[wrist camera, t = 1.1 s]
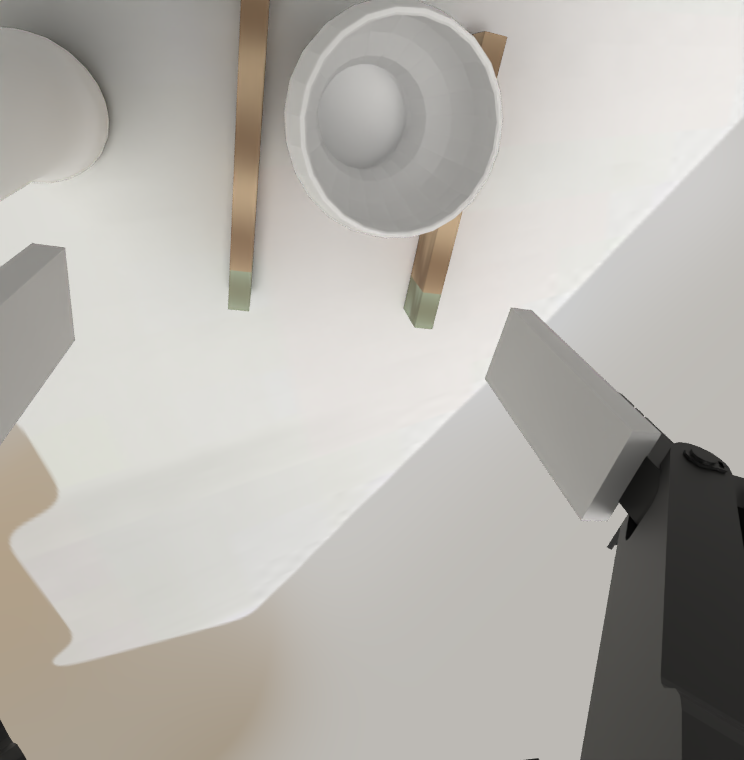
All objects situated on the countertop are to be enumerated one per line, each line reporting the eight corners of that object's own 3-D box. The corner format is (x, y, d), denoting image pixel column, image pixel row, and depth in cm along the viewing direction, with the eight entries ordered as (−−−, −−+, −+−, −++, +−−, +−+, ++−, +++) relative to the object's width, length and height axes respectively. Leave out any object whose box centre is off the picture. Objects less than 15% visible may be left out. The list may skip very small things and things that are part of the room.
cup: (266, 33, 32) (262, 1, 19) (426, 16, 33) (521, -26, 20) (295, 203, 38) (307, 264, 25) (431, 184, 39) (509, 234, 26)
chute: (245, -18, 31) (242, -31, 27) (484, 41, 34) (507, 36, 31) (231, 290, 40) (228, 309, 37) (419, 310, 44) (432, 329, 41)
